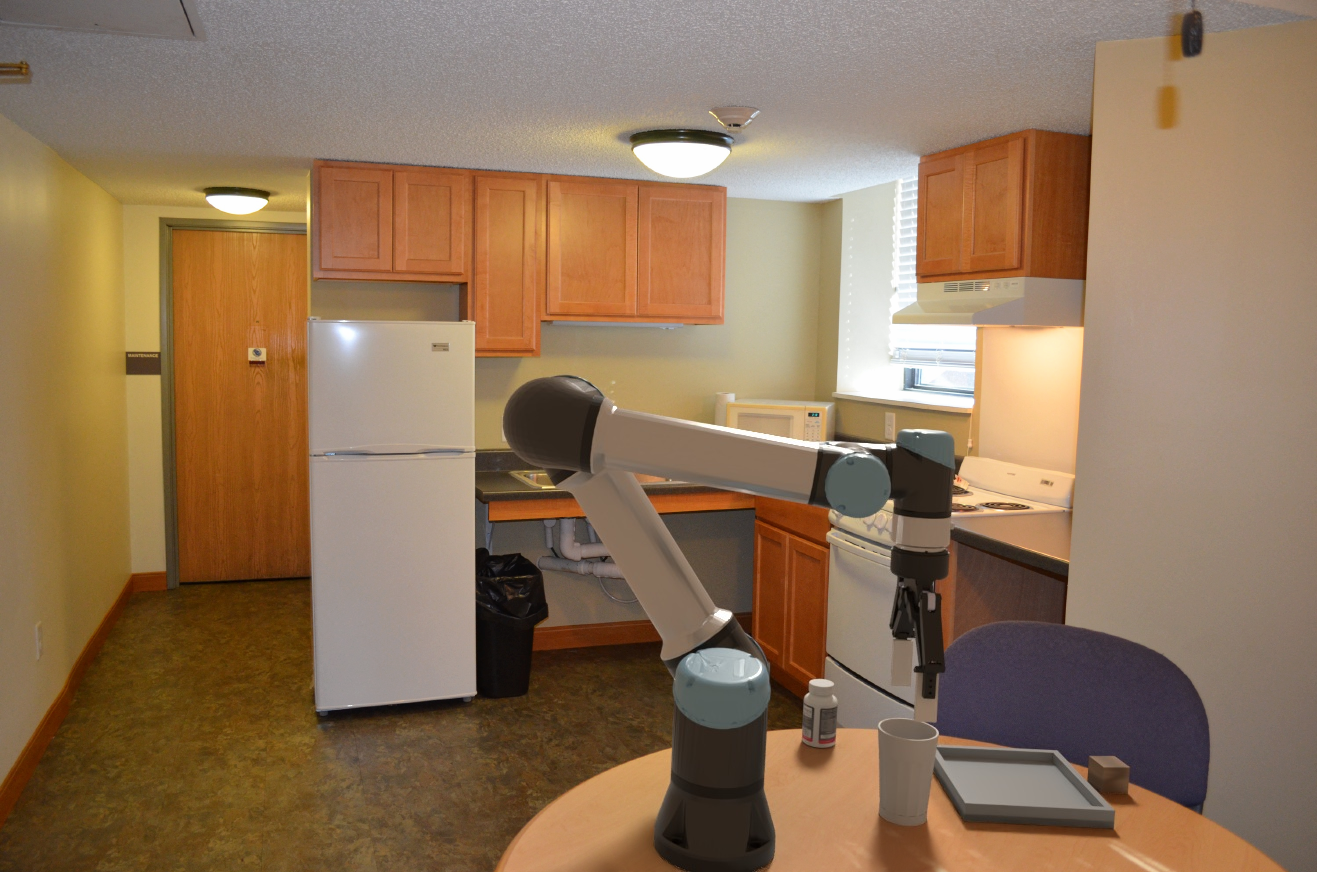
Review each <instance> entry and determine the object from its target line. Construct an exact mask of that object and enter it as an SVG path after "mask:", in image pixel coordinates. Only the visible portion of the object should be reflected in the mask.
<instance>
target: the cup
mask: <svg viewBox="0 0 1317 872" xmlns="http://www.w3.org/2000/svg"><path fill="white" fill-rule="evenodd" d="M877 734H878V736H877V738H878V739H877V740H878V741H877V742H878V743H877V744H878V774H879V775H878V777H879V778H878V782H879V783H878V784H879V786H878V787H879V791H878V792H879V795H878V797H879V804H878V805H879V806H878V814H879V816H880V817H881V818H883V819H884V820H885V821H887V822H889V823H891V824H895V825H899V826H903V827H905V826H906V827H914V826H915V827H916V826H921V825H923V824H925V823H926V822H927V820H928V810H929V809H928V807H929V801H930V796H931V795H930V794H931V787H932V783H933V774H934V771H933V769H934V762H935V755H936V749H937V745H938V741H939V735H940V733H939V730H938V729H937V728H936V727H934V725H931V723H930V724H929V723H928V722H915V721H914V718H913V719H912V718H906V717H904V718H903V717H892V718H885V719H882V720H880V721H879V722H878V724H877Z"/></svg>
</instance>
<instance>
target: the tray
mask: <svg viewBox="0 0 1317 872" xmlns="http://www.w3.org/2000/svg"><path fill="white" fill-rule="evenodd" d="M933 774H935V777H936V778H937V780H938V781H939V783H940V784H941V786H942V788H943V789H944V792H946V794H947V796H948V797H949V799H950V801H951V802H952V804H953V805H954V807H955V809H956V810H957V812H958V814H959V816H960V817H961V818H962V820H963V822H976V823H994V824H996V823H997V824H1017V825H1037V826H1051V827H1052V826H1056V827H1074V828H1075V827H1078V828H1079V827H1080V828H1092V829H1093V828H1094V829H1115V819H1116V810H1115V808H1114V807H1113V806H1111V804H1110V803H1109V802H1108V801H1107V800H1106V799H1105V798H1104V797H1103V796H1102V795H1101V793H1100V792H1099V791H1098V790H1097V789H1096V788H1094V787H1093V786H1092V785H1091V784H1090V783H1088V782H1087V780H1086V778H1085V777H1084V776H1082V774H1081V773H1080V772H1079V771H1078V770H1077V769H1076V768H1075V767H1074V766H1073V765H1072V764H1071V763H1070V762H1069V761H1068V760H1067V759H1066V757H1064V756H1063V755H1062V753H1061V752H1060V751H1059V750H1057V749H1055V750H1053V749H1035V748H1034V749H1033V748H1017V747H1016V748H1015V747H1013V748H1012V747H996V746H994V747H993V746H975V745H973V746H972V745H956V744H955V745H954V744H953V745H952V744H937V749H936V755H935V762H934V769H933Z"/></svg>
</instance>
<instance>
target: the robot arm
mask: <svg viewBox="0 0 1317 872" xmlns="http://www.w3.org/2000/svg"><path fill="white" fill-rule="evenodd" d="M502 430H503V436H504V437H505V440H506V443H507V445H508V447H509V448H510V449H511V450H512V452H513V453H514V454H515V455H516V456H517V457H518V458H519V459H521V460H522V461H524V462H526V463H528V464H530V465H531V466H535V467H540V468H542V469H543V471H545V473H546V475H547V477H548V478H549V480H550V482H551V483H552V484H553V487H554V488H555V489H557V490H561V491H566V492H568V493H569V494H570V493H571V494H572V496H573V497H574V499H575V501H576V502H577V503H578V504H577V505H579V507H580V509H581V511H582V512H583V514H584V515H585V517H586V518H587V520H588V522H589V523H590V525H591V526H592V528H593V530H594V531H595V532H596V534H597V536H598V538H599V539H600V541H601V542H602V545H604V547H605V550H606V551H607V553H609V555H610V557H611V559H612V560H613V562H614V564H615V565H616V567H617V568H618V570H619V572H620V573H621V575H622V576H623V578H624V580H625V581H626V583H627V584H628V586H629V588H630V589H631V591H632V593H633V594H634V595H635V597H636V599H637V601H638V602H639V604H640V605H641V607H642V608H643V610H644V612H645V613H646V616H647V617H648V618H649V620H650V622H651V624H653V627H654V628H655V630H656V631H657V633H658V634H659V636H660V638H661V640H662V646H661V652H660V656H659V657H660V658H661V660H662V662H663V663H664V666H665V667H666V668H667V670H668V672H669V673H670V675H671V676H672V678H673V684H672V694H673V716H672V718H673V719H672V736H671V737H672V740H671V761H670V781H669V784H668V787H667V790H666V793H665V795H664V797H663V800H662V802H661V805H660V807H659V810H658V813H657V816H656V819H655V821H654V826H653V827H654V830H653V845H654V848H655V851H656V853H658V855H659V856H660V857H661V858H662V859H663V860H664V861H666V862H667V863H669V864H670V865H672V866H674V867H676V868H679V869H680V870H683V871H686V872H756V871H758V870H760V869H763V868H764V867H766V866H768V865H769V863H770V862H771V861H772V859H773V858H774V856H775V851H776V838H777V837H776V836H777V835H776V829H775V825H774V822H773V819H772V814H771V811H770V810H771V809H770V807H769V806H770V805H769V802H768V799H767V795H766V792H765V773H766V771H765V770H766V753H767V739H768V736H767V735H768V734H767V733H768V718H769V717H768V715H769V703H770V701H771V700H770V699H771V690H772V689H771V683H770V670H769V668H770V667H769V666H768V661H767V657H766V655H765V652H764V651H763V649H762V647H761V646H760V645H759V643H758V642H757V641H756V640H755V639H754V638H753V637H751V636H750V635H749V634H748V633H746V632H745V631H744V629H743V628H742V626H741V624H740V623H739V621H738V619H737V618H736V617H735V615H734V613H733V611H731V610H729V609H724V608H719V607H717V606H716V604H715V603H714V602H713V600H712V598H711V597H710V595H709V593H708V592H707V591H706V590H707V589H705V587H704V586H703V584H702V582H701V581H700V579H699V578H698V576H697V574H696V573H695V571H694V569H693V568H692V566H691V565H690V563H689V561H688V560H687V558H686V556H685V555H684V553H683V552H682V550H681V549H680V547H679V546H678V544H677V542H676V540H675V539H674V537H673V535H672V534H671V533H670V531H669V529H668V528H667V526H666V525H665V522H664V521H663V519H662V518H661V516H660V514H659V513H658V511H657V510H656V509H655V506H654V505H653V504H652V502H651V500H650V498H649V497H648V496H647V493H646V492H645V490H644V488H643V487H642V485H641V484H640V482H639V481H638V479H637V477H636V476H635V474H639V475H644V476H649V477H656V478H661V479H665V480H672V481H676V482H677V481H678V482H683V483H689V484H693V485H700V486H704V487H709V488H715V489H721V490H726V491H733V492H738V493H742V494H749V495H753V496H754V495H755V496H761V497H766V498H771V499H777V500H783V501H788V502H792V503H793V502H794V503H799V504H805V505H809V506H813V507H816V508H822V509H828V510H833V511H835V512H837V513H839V514H840V515H842V516H843V517H844V516H845V517H848V518H853V519H865V518H869V517H872V516H873V515H875V514H877V513H879V511H880V510H882V509H883V508H884V507H885V505H886V504H887V502H888V501H892V502H893V506H892V507H893V508H892V510H893V511H892V515H891V516H892V517H891V541H892V543H894V545H892V547H891V548H890V567H889V570H890V572H891V574H893V575H895V577H896V579H897V580H896V587H895V593H894V598H893V604H892V610H891V613H890V614H891V615H890V620H889V624H888V626H889V629H890V630H891V636H892V638H893V639H892V649H891V650H892V651H891V652H892V653H891V666H890V667H891V669H890V670H891V671H890V685H891V686H892V687H911V686H912V675H913V674H912V671H913V673H915V684H914V686H915V688H914V689H915V690H914V703H913V705H914V706H913V720H914V721H915V722H925V723H937V720H938V719H937V718H938V717H937V716H938V701H939V682H940V680H939V679H940V674H945V672H946V663H945V661H946V660H945V648H944V634H943V633H944V632H943V620H942V599H943V598H942V597H943V596H942V593H940V592H939V593H938V592H936V591H934V582H935V581H941V580H945V579H947V577H948V576H949V572H950V555H951V554H950V553H951V552H949V550H948V549H947V547H949V546H950V545H951V530H954V529H955V527H956V525H955V522H953V521H952V513H953V512H952V510H953V498H954V482H955V481H954V480H955V470H956V463H955V462H956V461H955V456H956V455H955V438H954V437H953V435H952V434H951V433H949V432H948V431H944V430H935V429H923V428H920V429H919V428H917V429H913V428H911V429H910V428H906V429H900V430H899V431H898V432H897V434H896V439H895V440H894V443H883V444H882V443H869V442H868V443H867V442H849V441H835V440H828V441H827V440H826V441H805V440H804V441H803V440H798V439H793V438H787V437H783V436H776V435H772V434H764V433H761V432H760V433H759V432H753V431H748V430H743V429H737V428H732V427H727V426H726V427H725V426H720V425H716V424H710V423H705V422H698V421H693V420H688V419H683V418H682V419H681V418H677V417H670V416H665V415H661V414H654V413H649V412H643V411H638V410H634V409H633V410H632V409H627V408H622V407H617V406H616V405H615V403H614V402H613V401H612V399H611V398H610V397H606V396H605V394H604V393H603V392H602V391H601V390H600V389H599V388H598V387H597V386H596V385H594V383H592V382H590V381H588V380H587V379H585V378H582V377H580V376H576V375H571V374H561V375H560V374H559V375H553V376H545V377H540V378H539V377H537V378H534V379H531V380H529V381H527V382H525V383H524V384H521V385H519V387H518V388H517V389H515V390H514V392H513V393H512V394H511V395H510V397H509V398H508V400H507V402H506V404H505V406H504V409H503V414H502ZM913 639H915V647H916V654H917V661H918V662H917V663H918V665H915V666H914V668H913V654H914V640H913Z"/></svg>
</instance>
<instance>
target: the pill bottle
mask: <svg viewBox="0 0 1317 872" xmlns="http://www.w3.org/2000/svg"><path fill="white" fill-rule="evenodd" d="M808 691H809V692H808V693H806V694H805V695H804V697H803V707H802V708H803V710H802V727H801V728H802V729H801V739H802V742H803V743H804V744H805V745H807V746H809V747H811V748H812V747H813V748H821V749H822V748H824V749H825V748H831V747H833V746H835V744H836V742H837V741H836V738H837V737H836V736H837V724H838V723H837V722H838V721H837V720H838V708H839V707H838V706H839V705H838V702H839V701H838V698H837V697H836V696H835V695H834V693H835V683H834V682H833V681H831V680H829V679H825V678H824V679H823V678H816V679H815V678H814V679H811V680H809V682H808Z"/></svg>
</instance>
